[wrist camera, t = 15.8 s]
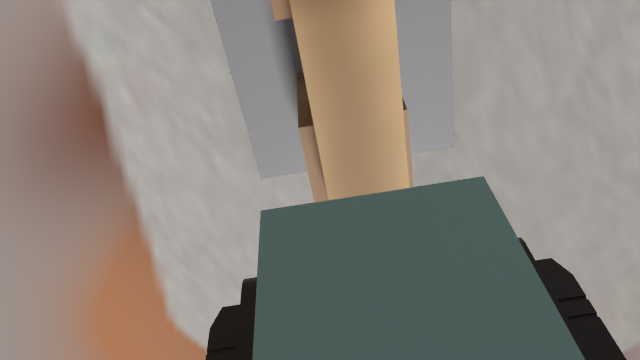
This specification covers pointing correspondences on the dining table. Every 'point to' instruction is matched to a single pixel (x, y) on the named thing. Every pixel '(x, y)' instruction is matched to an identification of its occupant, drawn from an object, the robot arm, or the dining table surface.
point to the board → (285, 63)
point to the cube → (402, 281)
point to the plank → (354, 93)
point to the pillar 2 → (312, 147)
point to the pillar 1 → (281, 9)
